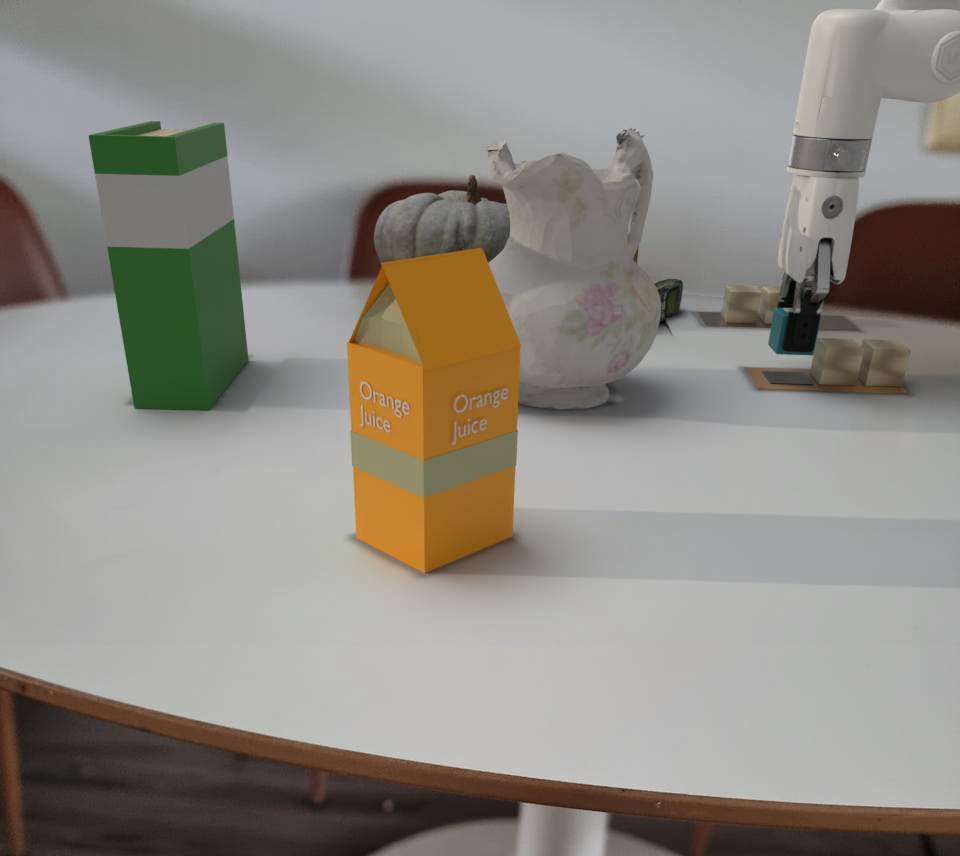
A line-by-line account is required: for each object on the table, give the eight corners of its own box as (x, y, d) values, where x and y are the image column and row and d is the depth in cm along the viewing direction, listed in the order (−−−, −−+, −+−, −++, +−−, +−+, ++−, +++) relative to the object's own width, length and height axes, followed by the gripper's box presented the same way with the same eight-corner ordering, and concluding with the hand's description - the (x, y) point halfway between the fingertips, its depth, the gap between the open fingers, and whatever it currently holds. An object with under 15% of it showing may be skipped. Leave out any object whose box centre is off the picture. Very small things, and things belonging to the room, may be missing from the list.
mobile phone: (647, 296, 122) (691, 274, 133) (625, 293, 124) (671, 271, 134) (643, 336, 125) (687, 311, 136) (621, 332, 126) (667, 308, 137)
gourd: (355, 304, 124) (367, 154, 117) (380, 296, 147) (391, 170, 140) (549, 332, 124) (572, 184, 118) (544, 319, 147) (562, 195, 141)
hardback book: (183, 358, 111) (151, 121, 99) (248, 360, 111) (224, 122, 99) (134, 408, 96) (88, 135, 84) (209, 410, 96) (174, 137, 83)
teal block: (804, 345, 108) (811, 307, 105) (813, 355, 104) (821, 316, 102) (767, 344, 108) (774, 306, 105) (776, 354, 104) (783, 315, 102)
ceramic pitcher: (535, 366, 115) (531, 129, 103) (693, 381, 106) (708, 123, 94) (436, 416, 100) (416, 143, 87) (611, 439, 90) (616, 138, 78)
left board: (841, 320, 134) (848, 285, 132) (859, 334, 127) (867, 298, 125) (695, 316, 134) (700, 281, 132) (705, 330, 127) (710, 294, 125)
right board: (883, 376, 111) (892, 335, 109) (907, 398, 104) (918, 355, 102) (742, 372, 111) (749, 331, 109) (757, 393, 104) (765, 350, 102)
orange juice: (354, 542, 71) (340, 253, 61) (443, 510, 77) (444, 239, 66) (425, 580, 67) (423, 273, 56) (515, 542, 72) (528, 256, 62)
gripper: (894, 168, 89) (849, 368, 98) (841, 151, 103) (806, 327, 113) (812, 165, 89) (774, 365, 98) (770, 149, 103) (741, 325, 113)
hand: (792, 343), depth 105 cm, fingers closed on teal block, 4 cm apart
